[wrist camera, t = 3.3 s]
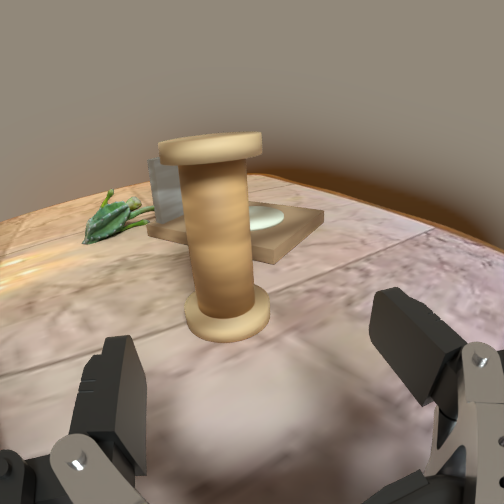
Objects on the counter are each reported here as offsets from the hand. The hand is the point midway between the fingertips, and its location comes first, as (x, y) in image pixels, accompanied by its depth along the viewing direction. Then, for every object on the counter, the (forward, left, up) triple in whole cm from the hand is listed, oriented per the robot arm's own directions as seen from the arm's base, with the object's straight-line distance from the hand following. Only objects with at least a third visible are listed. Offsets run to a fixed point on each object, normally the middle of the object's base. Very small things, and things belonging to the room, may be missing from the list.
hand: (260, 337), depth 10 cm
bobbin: (-8, +8, -7) cm, 13 cm away
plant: (-36, +21, -8) cm, 43 cm away
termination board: (-18, +23, -7) cm, 30 cm away
